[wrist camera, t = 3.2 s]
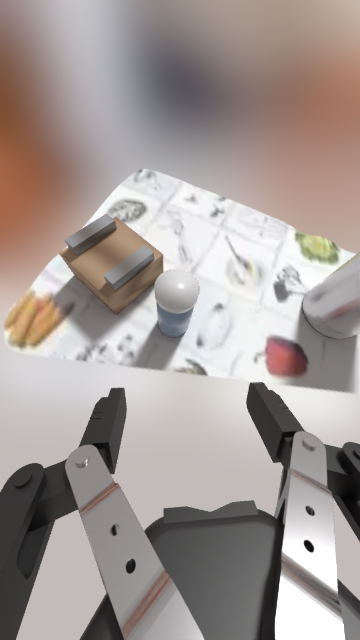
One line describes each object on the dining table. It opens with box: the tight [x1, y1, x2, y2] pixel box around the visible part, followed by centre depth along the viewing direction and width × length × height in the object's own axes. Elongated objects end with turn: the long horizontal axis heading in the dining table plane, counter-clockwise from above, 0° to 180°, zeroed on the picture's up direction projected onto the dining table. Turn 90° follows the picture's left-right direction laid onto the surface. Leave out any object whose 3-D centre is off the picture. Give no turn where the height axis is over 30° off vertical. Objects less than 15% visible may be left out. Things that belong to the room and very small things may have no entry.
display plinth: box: [59, 214, 163, 315], centre depth 30 cm, size 10×10×6 cm
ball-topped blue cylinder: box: [154, 269, 200, 337], centre depth 26 cm, size 5×5×10 cm
